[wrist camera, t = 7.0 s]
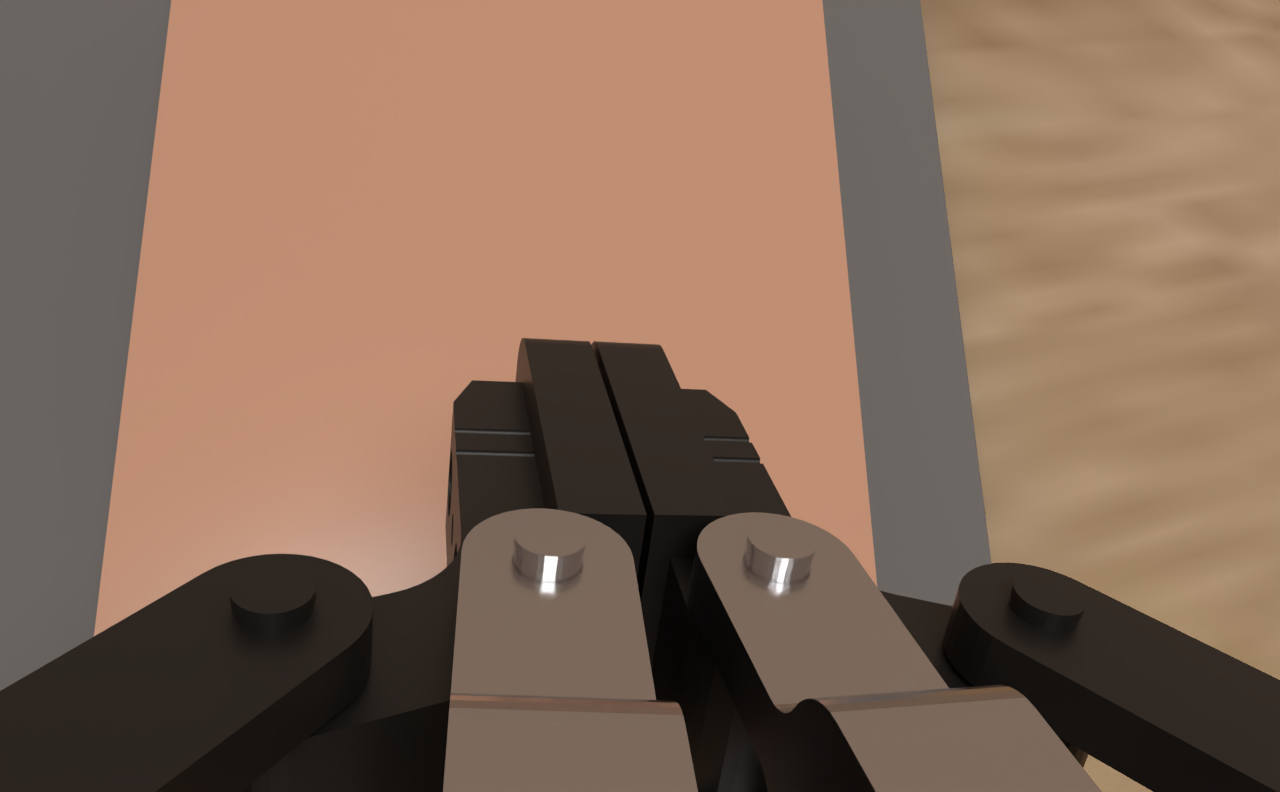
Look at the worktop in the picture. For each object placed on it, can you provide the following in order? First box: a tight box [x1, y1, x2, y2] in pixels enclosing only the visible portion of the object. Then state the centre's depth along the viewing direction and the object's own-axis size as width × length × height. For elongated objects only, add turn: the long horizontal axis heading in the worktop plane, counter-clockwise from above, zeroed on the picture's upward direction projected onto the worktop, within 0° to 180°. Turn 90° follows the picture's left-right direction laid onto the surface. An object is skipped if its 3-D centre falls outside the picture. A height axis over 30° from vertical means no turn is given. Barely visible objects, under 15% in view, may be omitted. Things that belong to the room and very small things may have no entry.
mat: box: [0, 0, 991, 691], centre depth 23 cm, size 20×18×1 cm
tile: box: [94, 0, 877, 636], centre depth 21 cm, size 12×3×16 cm
